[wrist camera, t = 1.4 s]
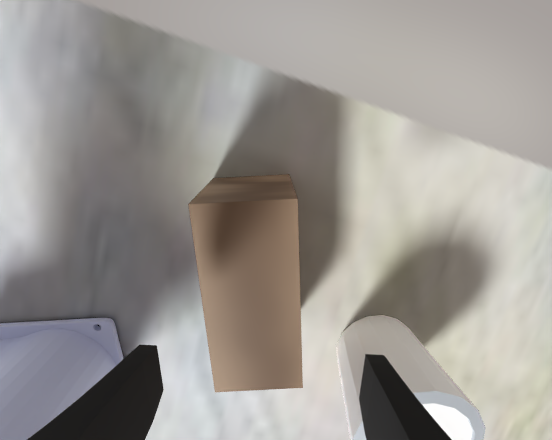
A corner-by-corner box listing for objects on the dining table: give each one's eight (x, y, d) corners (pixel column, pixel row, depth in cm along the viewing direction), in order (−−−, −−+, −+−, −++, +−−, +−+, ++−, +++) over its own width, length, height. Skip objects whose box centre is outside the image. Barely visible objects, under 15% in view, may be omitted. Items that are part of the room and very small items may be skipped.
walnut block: (229, 319, 21) (215, 392, 16) (213, 177, 18) (188, 204, 13) (293, 316, 21) (302, 387, 16) (289, 173, 18) (297, 198, 13)
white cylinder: (361, 291, 21) (405, 372, 14) (441, 331, 22) (516, 424, 15) (309, 363, 23) (326, 465, 16) (385, 396, 24) (430, 505, 17)
